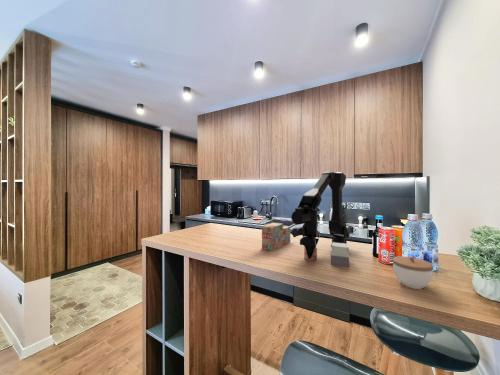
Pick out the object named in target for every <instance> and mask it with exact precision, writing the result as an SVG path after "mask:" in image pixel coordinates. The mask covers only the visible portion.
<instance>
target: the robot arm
mask: <svg viewBox="0 0 500 375" xmlns="http://www.w3.org/2000/svg"><path fill="white" fill-rule="evenodd" d="M346 180H347V176H346V174H344V172H334V171H323V172H322V173H321V176H320V178H319V179H318V181H316V183H315V184H314V186H313V187H312V188H311V189H310V190H308V191H306V192H305V193H304V194H303V195H302V197H301V199H300V201H299V204H298V206H297V207H296V208H295V209H294V211H293V212H292V214H291V216H290V218H291V222H292V223H293V224H294V225H297V226H298V225H302V226H299V227H295V228H294V227H293V228H292V230H291V229H290V235H292V236H293V238H296V237H299V236H302V237H301V238H300V239H299V245H300V246H303V247H305V248H306V251H307V255H308V258H309V259H311V257H312V254H313V252H314V249H315V247H316V248H317V245H318V242H319V241H320V240H319V238H320V237H321V233H320V231H319V230H318V227H319V223H318V213H319V212H320V208H318V207H319V206H320V204H321V202H322V195H323V194H324V192H325V191H326V189H327V188H328V186H329V188H330V189H331V210H332V212H331V213H332V217H331V219H330V220H328V233H329V235H330V236H332V237H331V245H330V247H332V243H333V242H335V243H344V244H347V245H348V243H347V241H348V238H350V236H351V233H350V231H349V229H348V227H347V222H346V220H345V218H344V217H343V188H344V187H345V185H346Z"/></svg>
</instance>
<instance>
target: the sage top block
mask: <svg viewBox="0 0 500 375" xmlns="http://www.w3.org/2000/svg"><path fill="white" fill-rule="evenodd" d="M331 245H332V246H331V252H332V255H333V256H341V257H348V253H349V251H348V250H349V247H348V245H349V244H348V243H347V244H344V243H335V242H333V243H332V242H331Z"/></svg>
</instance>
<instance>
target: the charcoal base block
mask: <svg viewBox="0 0 500 375" xmlns="http://www.w3.org/2000/svg"><path fill="white" fill-rule="evenodd" d="M330 265H332V266H333V265H334V266H338V267H346V268H350V252H348V257H341V256H333V255H332V251H331V252H330Z"/></svg>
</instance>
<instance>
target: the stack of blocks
mask: <svg viewBox="0 0 500 375" xmlns="http://www.w3.org/2000/svg"><path fill="white" fill-rule="evenodd" d="M289 243H291V226H290V225H289V226H288V225H284V223H282V222H281V223H280V222H272V223H271V222H270V223H268V224H263V225H262V226H261V250H264V251H265V250H266V251H270V252H273V251H275V250H278V249H279V248H281V247H283V246H285V245H286V244H289Z"/></svg>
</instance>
